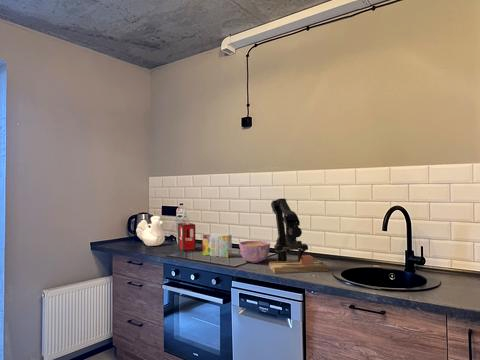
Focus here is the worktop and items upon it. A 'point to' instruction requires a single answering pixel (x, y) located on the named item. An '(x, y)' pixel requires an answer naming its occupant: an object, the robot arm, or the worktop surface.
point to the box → (297, 267)
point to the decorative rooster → (151, 231)
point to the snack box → (217, 245)
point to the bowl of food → (254, 250)
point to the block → (306, 260)
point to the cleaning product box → (186, 237)
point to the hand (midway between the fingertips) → (291, 262)
